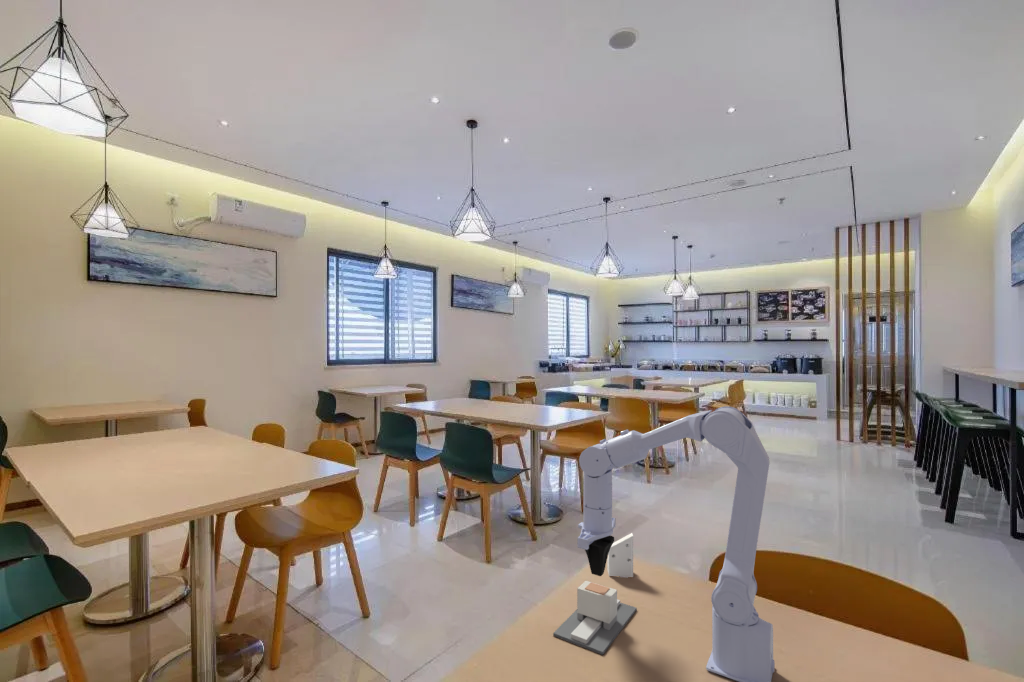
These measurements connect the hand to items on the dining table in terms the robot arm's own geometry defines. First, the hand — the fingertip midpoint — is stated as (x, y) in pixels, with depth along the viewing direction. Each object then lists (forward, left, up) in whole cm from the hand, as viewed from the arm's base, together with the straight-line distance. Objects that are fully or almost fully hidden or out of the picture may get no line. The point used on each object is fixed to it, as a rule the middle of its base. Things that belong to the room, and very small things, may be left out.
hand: (597, 573), depth 93 cm
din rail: (0, 0, -10) cm, 10 cm away
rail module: (0, 0, -9) cm, 9 cm away
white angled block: (+4, -23, -10) cm, 25 cm away
